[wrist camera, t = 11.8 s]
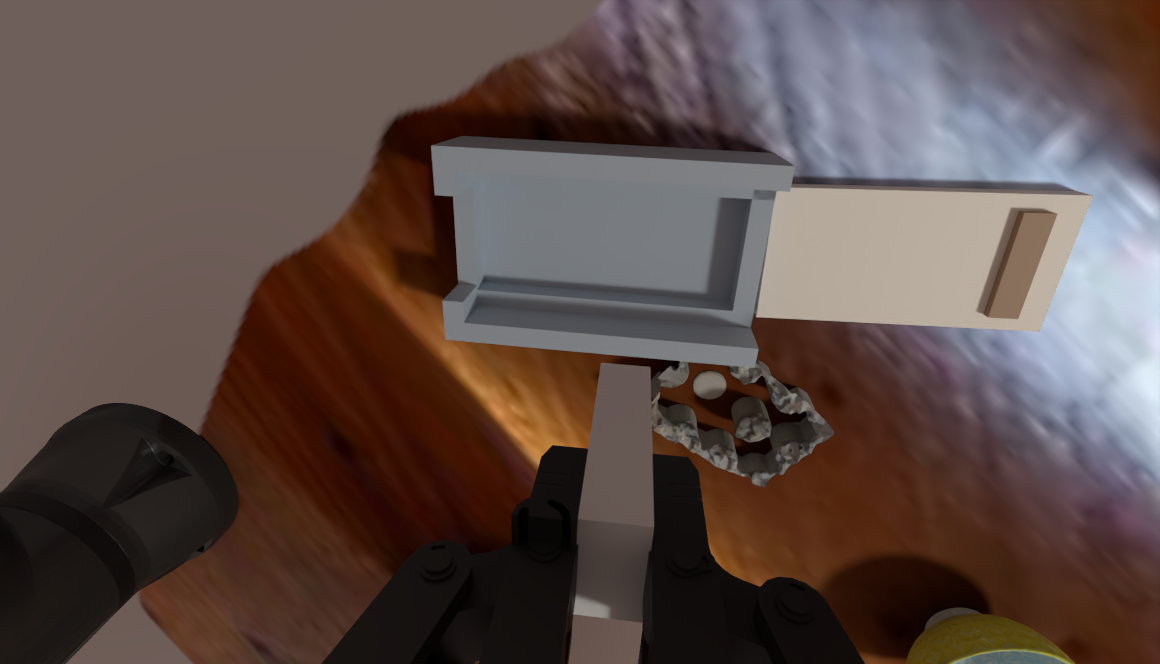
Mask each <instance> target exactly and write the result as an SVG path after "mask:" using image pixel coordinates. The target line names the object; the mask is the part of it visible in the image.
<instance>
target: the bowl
mask: <svg viewBox="0 0 1160 664" xmlns="http://www.w3.org/2000/svg"><path fill="white" fill-rule="evenodd" d="M906 664H1075V663H1074V662H1073V661H1072V660H1071V659H1070V658H1069V657H1068V656H1067V655H1066V654H1065V653H1064V652H1063V651H1061V650H1060V649H1059V648H1058V647H1057V646H1056V645H1055V644H1053V643H1052V642H1051V641H1050V640H1048V639H1047V638H1045V637H1044V636H1042V635H1041V634H1039V633H1038V632H1036V631H1034V630H1032V629H1031V628H1029V627H1027V626H1024V625H1022V624H1020V623H1018V622H1015V621H1013V620H1010V619H1007V618H1003V617H1000V616H995V615H989V614H981V613H979V612H977V611H975V610H973V609H968V608H959V607H957V608H950V609H945V610H942V611H940V612H938V613H936V614H934V615H933V616H932V617H931V618H930V619H929V620H928V621H927V623H926V626H925V631H923V633H922V634H921V635H920V636H919V637H918V638H917V639H916V641H915V642H914V644H913V646H912V647H911V649H910V651H909V654H908V657H907V661H906Z"/></svg>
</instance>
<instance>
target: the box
mask: <svg viewBox="0 0 1160 664" xmlns="http://www.w3.org/2000/svg"><path fill="white" fill-rule="evenodd" d="M431 151H432V165H433V178H434V192H435V195H440V196H453V205H454V222H455V238H456V255H457V272H458V285H457V286H456V287H455V288H454V289H453V290H452V291H451V292H450V293H449V294H448V295H447V296H446V297H445V298H444V300H443V314H444V328H445V340H455V341H466V342H477V343H488V344H499V345H510V346H521V347H532V348H543V349H554V350H565V351H576V352H587V353H598V354H608V355H619V356H630V357H641V358H652V359H663V360H674V361H685V362H696V363H707V364H718V365H729V366H740V367H750V368H755V364H756V359H757V354H758V346H757V344H756V341H755V338H754V336H753V333H752V330H751V323H752V318H753V313H754V308H755V302H756V297H757V292H758V286H759V281H760V276H761V271H762V265H763V260H764V255H765V250H766V244H767V239H768V234H769V229H770V223H771V218H772V213H773V208H774V202H775V197H776V192H777V191H785V192H790V190H791V185H792V180H793V175H794V170H795V166H794V165H792V164H791V163H789V162H788V161H786V160H785V159H783V158H781V157H780V156H778V155H777V154H775V153H764V152H746V151H727V150H709V149H691V148H673V147H655V146H637V145H619V144H601V143H583V142H564V141H546V140H528V139H510V138H492V137H474V136H460V137H457V138H454V139H450V140H447V141H444V142H441V143H438V144H434V145H431Z"/></svg>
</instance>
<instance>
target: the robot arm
mask: <svg viewBox="0 0 1160 664" xmlns="http://www.w3.org/2000/svg"><path fill="white" fill-rule="evenodd" d="M237 511H238V494H237V490H236V486H235V483H234V480H233V478H232V476H231V474H230V472H229V470H228V468H227V467H226V465H225V464H224V462H223V461H222V459H221V458H220V457H219V455H218V454H217V453H216V452H215V451H214V450H213V449H212V448H211V446H210V445H209V444H208V443H207V442H205V441H204V440H203V439H202V438H201V437H200V436H199V435H197V434H196V433H195V432H194V431H192V430H191V429H189V428H188V427H187V426H185V425H183V424H182V423H180V422H179V421H177V420H175V419H173V418H171V417H169V416H167V415H165V414H163V413H161V412H158V411H155V410H153V409H150V408H146V407H143V406H138V405H133V404H126V403H110V404H103V405H99V406H96V407H93V408H91V409H89V410H88V411H86V412H84V413H82V414H81V415H79V416H77V417H76V418H74V419H73V420H71V421H69V422H67V423H66V424H64V425H63V426H62V427H60V429H58V430H57V431H56V432H55V433H54V434H53V435H52V437H51V438H50V440H49V441H48V442H47V444H46V445H45V446H44V447H43V448H42V449H41V450H40V451H39V452H38V454H37V455H36V456H35V457H34V458H33V459H32V460H31V461H30V462H29V463H28V464H27V465H26V466H25V467H24V468H23V470H22V471H21V472H20V473H19V474H18V475H17V476H16V477H15V478H14V480H13V481H12V482H11V483H10V484H9V485H8V486H7V487H6V488H5V489H4V490H3V491H2V492H0V664H66V663H67V662H68V661H69V660H70V659H71V658H72V656H74V655H75V654H76V653H77V651H79V650H80V649H81V648H82V647H83V645H85V644H86V643H87V642H88V640H89V639H90V638H91V637H92V636H93V635H94V634H95V633H96V632H97V631H98V630H99V629H100V628H101V627H102V626H103V625H104V624H105V623H106V622H107V621H108V620H109V619H110V618H111V617H112V616H113V615H114V614H115V613H116V612H117V611H118V610H119V609H120V608H121V607H122V606H123V605H124V604H125V603H126V602H127V601H128V600H129V599H130V598H131V597H132V596H133V595H134V594H136V593H137V592H138V591H139V590H141V589H143V588H144V587H146V586H148V585H149V584H151V583H153V582H155V581H156V580H158V579H160V578H161V577H163V576H165V575H166V574H168V573H170V572H171V571H173V570H175V569H176V568H178V567H179V566H181V565H182V564H184V563H185V562H186V561H188V560H191V559H193V558H195V557H197V556H199V555H201V554H202V553H204V552H205V551H207V550H208V549H209V548H211V547H212V546H213V545H214V544H215V543H216V542H217V541H218V540H219V539H220V537H221V536H222V535H223V534H224V533H225V532H226V531H227V530H228V529H229V528H230V527H231V525H232V524H233V522H234V520H235V518H236V515H237ZM511 516H512V542H511V543H510V544H508V545H507V546H505V547H503V548H501V549H499V550H495V551H492V552H487V553H481V554H475V555H471V554H470V553H469V551H468V550H467V549H466V547H464V546H462V545H461V544H459V543H457V542H453V541H446V540H442V541H436V542H430V543H428V544H426V545H424V546H422V547H420V548H418V549H417V550H416V551H415V552H414V553H413V554H411V555H410V556H409V557H408V559H407V560H406V561H405V562H404V563H403V565H402V566H401V567H400V568H399V570H398V571H397V572H396V573H395V574H394V576H393V577H392V578H391V579H390V581H389V582H388V583H387V584H386V586H385V587H384V588H383V589H382V590H381V592H380V593H379V594H378V595H377V597H376V598H375V599H374V600H373V601H372V603H371V604H370V605H369V606H368V608H367V609H366V610H365V611H364V612H363V614H362V615H361V616H360V617H359V619H358V620H357V621H356V622H355V624H354V625H353V626H352V627H351V628H350V630H349V631H348V632H347V633H346V635H345V636H344V637H343V638H342V639H341V641H340V642H339V643H338V644H337V646H336V647H335V648H334V649H333V650H332V652H331V653H330V654H329V655H328V657H327V658H326V659H325V660H324V661H323V663H322V664H474V663H475V661H479V664H568V662H569V654H570V646H571V638H572V620H573V614H577V615H585V616H593V617H602V618H610V619H618V620H626V621H635V622H642V617H643V630H642V638H641V646H640V654H639V660H638V664H865V663H864V661H863V660H862V658H861V656H860V655H859V653H858V652H857V650H856V648H855V647H854V645H853V643H852V642H851V640H850V639H849V637H848V635H847V634H846V632H845V630H844V629H843V627H842V626H841V624H840V622H839V621H838V619H837V618H836V616H835V614H834V613H833V611H832V609H831V608H830V606H829V605H828V603H827V602H826V601H825V599H824V598H823V597H822V596H821V595H820V594H819V592H818V591H816V590H815V589H813V588H812V587H810V586H809V585H807V584H806V583H804V582H801V581H798V580H796V579H793V578H786V577H776V578H773V579H769V580H767V581H766V582H765V583H764V584H763V585H762V586H761V587H759V586H756V585H754V584H751V583H748V582H746V581H743V580H741V579H739V578H737V577H735V576H733V575H731V574H729V573H728V572H727V571H725V570H724V569H723V568H722V567H721V566H720V565H719V564H718V563H717V562H716V561H715V558H714V557H713V556H712V554H711V552H710V549H709V545H708V538H707V530H706V523H705V516H704V509H703V502H702V495H701V489H700V480H699V473H698V470H697V469H696V467H695V466H694V465H693V463H692V462H691V460H690V459H689V458H688V457H680V456H670V455H660V454H652V413H651V371H650V367H645V366H633V365H622V364H610V363H601V367H600V374H599V380H598V387H597V394H596V400H595V407H594V414H593V421H592V427H591V434H590V441H589V447H588V449H585V448H575V447H565V446H554V445H552V446H551V448H550V449H549V450H548V451H547V452H546V453H545V454H544V455H543V456H542V457H541V460H540V464H539V468H538V473H537V475H536V479H535V484H534V486H533V490H532V494H531V497H530V498H527V499H525V500H523V501H522V502H521V503H519V504H518V505H517V506H516V507H515V509H514V511H513V512H512V514H511Z"/></svg>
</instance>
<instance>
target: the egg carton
mask: <svg viewBox="0 0 1160 664" xmlns="http://www.w3.org/2000/svg"><path fill="white" fill-rule="evenodd" d="M728 370H729V371H730V373H731V374H732V375H733V376H734V377H736V378H737V379H739V380H740V381H741V382H742V384H743V385H745V384H748V383H755V382H756V381H757V379H758V378H759V377H760V376H764V378H765V383H766V385H767V388H768V391H769V394H770V399H771V401H772V402H773V403H774V405H775V406H776V408H777V409H778V410H779V411H781V412H783V413H789V414H792V413H794V412H797V413H798V414H801V413H802V412H804V411H805V412H806V414H807V416H806V417H805V418H804V419H803V420H802V421H800V422H795V423H793V422H792V423H791V422H784V423H779V424H777V425H775V426H774V427H773V428H772V425H771V422H770V419H769V416H768V413H767V410H766V407H765V405H764V403H763V402H762V401H761V400H760V399H758V398H755V397H743V398H740V399H739V400H737V401H736V402H735V403H734V404H733V406H732V409H731V412H732V417H733V422H734V428H735V436H736V437H737V438H741V439H743V440H745V441H747V442H756V441H760V440H762V439H764V438H766V437H769V439H770V442H771V445H772V448H773V449H772V450H771V451H770V452H769V453H767V454H766V455H763V454H759V453H749V454H746V455H744V456H739V455H737V454H736V450H735V446H734V441H733V437H732V436H731V435H730V433H729V432H727V431H725V430H722V429H712V430H709V431H707V432H705V431H703V430H701V429H699V428H697V421H696V416H695V413H694V411H693V410H692V409H691V408H690V407H688V406H686V405H682V404H676V405H672V406H669V407H668V408H666V407H664V406H662V405H660V404H659V403H658V402H657V401H658V399H659V398H660V386H663V387H667V388H673V387H676V386H679V385H681V384H683V383H684V382H685V381H686V379H687V377H688V374H689V370H688V362H685V361H680V363H679V367H678V368H675V367H672V366H670V367H669V368H667V369H666V370H665V371H664V372H661V371H659V372H658V373H657V374H656V375H655V376H654V377H653V378H652V380H651V397H652V399H653V401H652V402H651V413H652V429H653V430H654V431H656V432H657V433H660V434H661V435H663V436H664V437H665V438H666V439H669V440H670V441H673V442H674V443H676V444H677V443H678V442H680V443H681V444H683V445H684V446H685V447H686V448H688V449H689V450H690V451H691V452H693V453H697V454H699V455H700V456H702V457H703V458H705V459H707V460H708V461H709V462H711V463H712V464H713V465H714V466H716V467H719V468H721V469H724V470H726V471H729V472H733V473H735V474H737V475H739V476H746V477H748V478H749V479H750V480H751V482H752V483H754V484H755V485H757V486H762V487H765V486H766V485H767V484H768V481H769V479H770V478H771V477H773V476H774V475H776V474H780V475H782V474H784V473H785V471H786V469H787V468H788V467H789V466H790V465H792V464H795V463H797V462H798V461H799V460H800V459H801V458H802V457H804V456H806V455H808V454H810V453H811V452H812V450H813V448H814V447H815V445H816V444H818V443H821V442H823V441H825V440H827V439H828V438H830V437H831V436H833V435H834V431H833V430H832V429H831V427H830V426H829V425H828V424H827V422H826V421H825V420H824V419H823V418H822V417H821V416H820V415H819V414H818V413H817V412H816V411H815V409H814V406H813V405H812V403H811V400H810V398H809V396H808V394H807V393H806V392H805V391H803V390H802V389H800V388H798V387H795V388H793V389H791V390H788V389H787V388H786V387H785V386H784V385H783V384H781V383H780V382H779V381H777V380H776V379H775V378H773V377H772V376H771V373H770V371H769V368H768V366H766V365H765V364H764V363H762V362H761V361H759V360H756V364H755V368H750V367H740V366H729V365H728ZM692 387H693V389H694V392H695V393H696V394H697V395H698V396H700V397H701V398H704V399H715V398H717V397H720V396H721V395H722V394H723V393H724V391H725V389H726V381H725V379H724V377H723V376H722V375H721V374H720V373H718V372H715V371H704V372H701V373H699V374H698V375H697V376H696V377H695V378H694V380H693V386H692ZM771 428H772V429H771Z"/></svg>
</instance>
